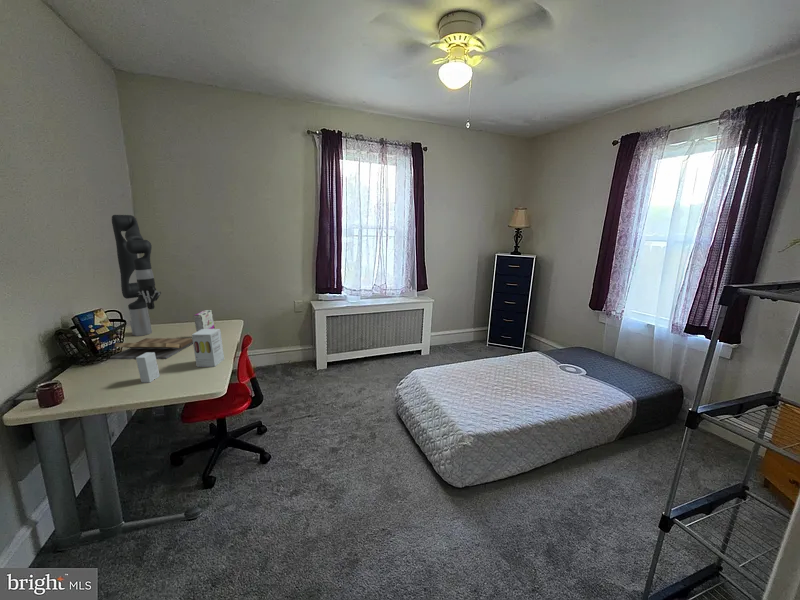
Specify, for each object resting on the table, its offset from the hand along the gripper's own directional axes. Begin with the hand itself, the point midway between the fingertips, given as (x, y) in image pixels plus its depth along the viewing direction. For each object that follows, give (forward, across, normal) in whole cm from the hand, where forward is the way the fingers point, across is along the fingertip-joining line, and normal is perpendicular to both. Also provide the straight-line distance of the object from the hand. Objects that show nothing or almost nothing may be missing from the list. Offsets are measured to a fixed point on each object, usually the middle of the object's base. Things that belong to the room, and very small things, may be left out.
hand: (151, 309), depth 181 cm
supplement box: (+24, -41, +19) cm, 51 cm away
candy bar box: (+24, -16, -18) cm, 34 cm away
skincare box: (+24, -23, +37) cm, 50 cm away
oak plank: (+20, +1, +6) cm, 21 cm away
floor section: (+23, +1, +2) cm, 23 cm away
